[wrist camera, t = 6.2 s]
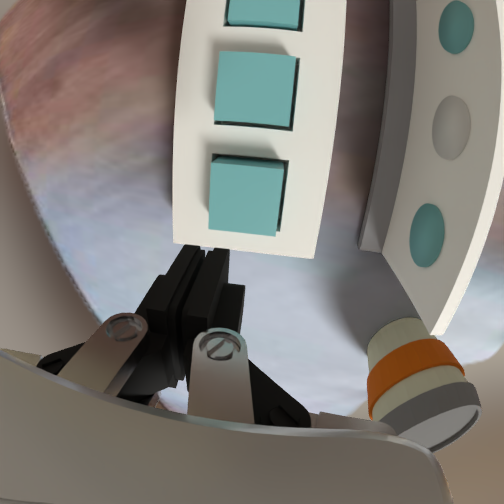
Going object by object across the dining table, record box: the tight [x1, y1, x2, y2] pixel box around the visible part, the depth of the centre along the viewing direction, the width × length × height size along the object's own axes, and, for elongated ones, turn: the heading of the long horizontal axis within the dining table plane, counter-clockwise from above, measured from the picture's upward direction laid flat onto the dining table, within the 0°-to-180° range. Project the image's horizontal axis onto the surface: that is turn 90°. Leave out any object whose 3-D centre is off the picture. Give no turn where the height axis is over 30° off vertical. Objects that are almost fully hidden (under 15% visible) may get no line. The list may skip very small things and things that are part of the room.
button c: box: [208, 156, 284, 237], centre depth 22 cm, size 5×5×3 cm
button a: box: [228, 0, 300, 31], centre depth 16 cm, size 5×5×3 cm
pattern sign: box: [357, 0, 504, 335], centre depth 16 cm, size 6×26×13 cm, turn 175°
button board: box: [173, 0, 346, 259], centre depth 20 cm, size 12×26×4 cm, turn 175°
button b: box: [214, 51, 296, 127], centre depth 18 cm, size 5×5×3 cm
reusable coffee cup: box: [367, 317, 482, 453], centre depth 26 cm, size 13×13×15 cm
